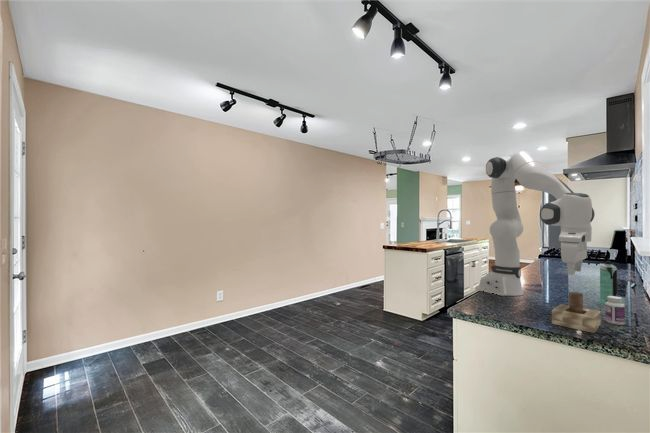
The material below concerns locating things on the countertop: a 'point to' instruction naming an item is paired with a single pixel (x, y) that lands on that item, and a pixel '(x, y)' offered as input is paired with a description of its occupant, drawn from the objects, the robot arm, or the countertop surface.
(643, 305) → the countertop surface
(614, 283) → the spray can
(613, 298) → the pill bottle
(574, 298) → the peg
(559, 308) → the socket block
